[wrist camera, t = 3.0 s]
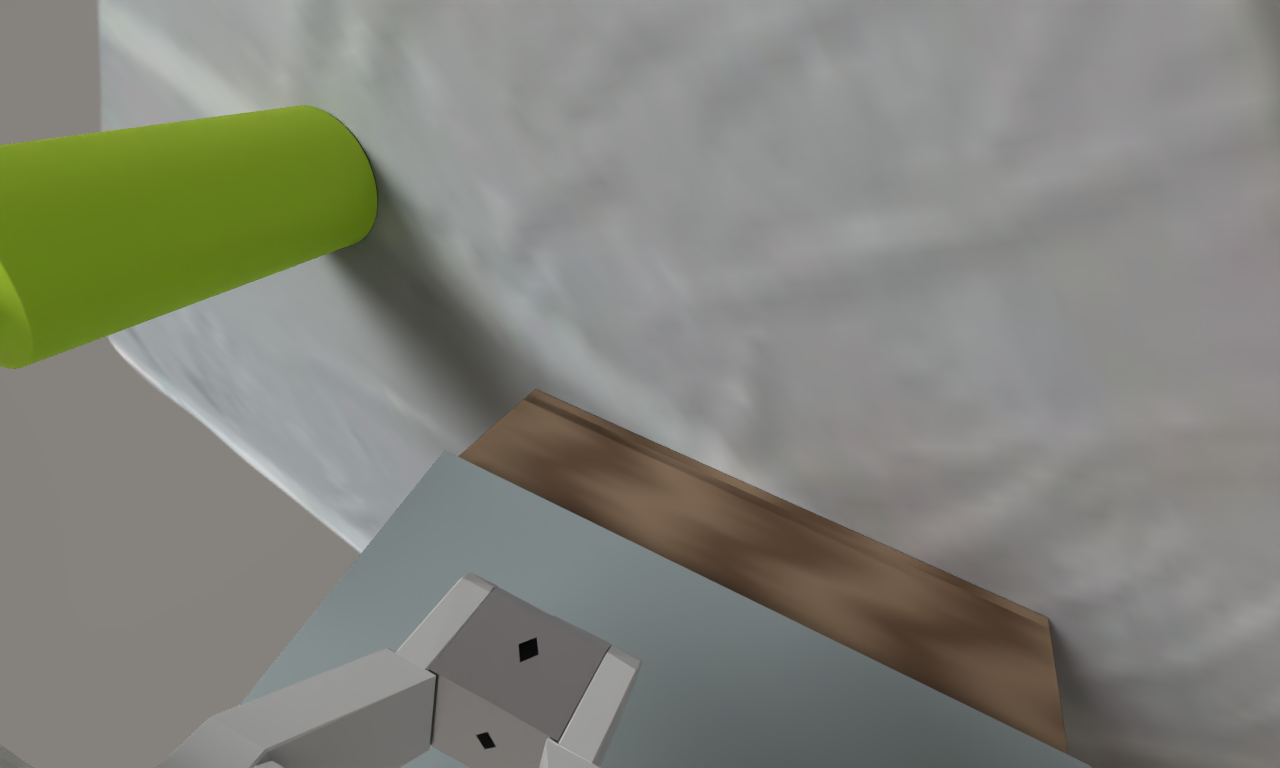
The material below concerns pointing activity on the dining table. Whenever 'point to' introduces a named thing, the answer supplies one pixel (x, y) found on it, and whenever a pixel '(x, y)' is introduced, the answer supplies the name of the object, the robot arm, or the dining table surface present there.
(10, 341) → the soap dispenser
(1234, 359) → the dining table surface
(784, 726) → the lid
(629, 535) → the wooden box
